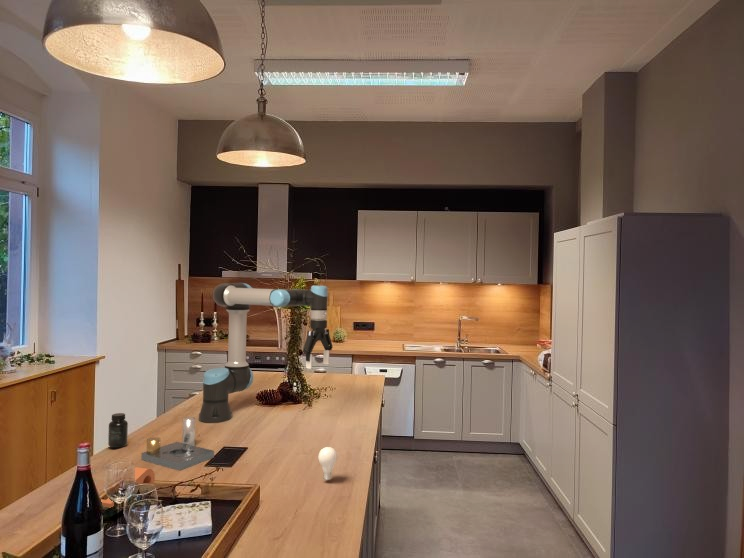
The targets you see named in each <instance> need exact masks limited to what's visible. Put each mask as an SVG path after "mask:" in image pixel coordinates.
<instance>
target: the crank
mask: <svg viewBox="0 0 744 558" xmlns="http://www.w3.org/2000/svg"><path fill="white" fill-rule="evenodd" d="M134 467H135V481H136V483H138V484H143V483H150V484H154V485H155V481H156V477H155V476H156V475H155V471H154V470H153V469H152V468H143V467H136V466H134ZM100 499H101V502H102V505H103V506H104V507H109V508H111V507H113V506H114V502H113V501H111V500H110V499H109V497H107V499H102V498H100Z"/></svg>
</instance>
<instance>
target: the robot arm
mask: <svg viewBox="0 0 744 558" xmlns="http://www.w3.org/2000/svg"><path fill="white" fill-rule="evenodd" d="M328 293H329V292H328V286H326V285H311V287H310V289H303V288H302V289H301V288H294V289H285V288H284V289H279V288H278V289H275V288H254V287H252V286H251V285H249V284H248V283H244V282H224V283H219V284H218V285H216V286H215V288H213V291H212V299H213V301H214V302H215V304H216V305H217V306H220V307H224V308H225V310H226V312H227V313H228V341H227V342H228V343H227V344H228V345H227V346H228V347H227V350H228V351H227V352H228V353H227V362H226V363H225V364H224V367H217V368H216V367H214V368H210V369H208V370H206V371H205V372H204V373H203V379H202V390H203V391H202V405H201V407H200V411H199V414H198V421H200V422H203V423H206V424H207V423H209V424H211V423H214V424H215V423H223V422H227V421H230V420H231V419H232V417H233V415H232V414H233V413H232V410H231V408H230V404H229V395H230V394H233V393H238V392H243V391H245V390H247V389H249V388H250V387H251V385H252V384H253V381H254V372H253V371H252V369H251V368H250V364H249V363H248V362H247V361H246V360H247V355H246V354H247V318H248V317H247V316H248V315H247V314H248V313H249V312H250V310H251V306H271V307H277V308H278V307H279V308H285V307H300V306H302V307H304V306H305V307H310V314H309V315H310V317H309V318H310V321H309V322H310V326H309V328H310V329H312V330H307V334H306V340H305V342H304V346H303V349H302V352H303V354H305V368H306V369H309V370H311V369H313V353H312V352H313V350H314V347H315V346H316V344H317V342H319V341H320V342H321V345H322V347H323V348H324V350H323V358H322V359H323V361H322V363H323V365H330V351H333V344H332V339H331V336H330V329H328V320H327V319H328V299H329V296H328Z"/></svg>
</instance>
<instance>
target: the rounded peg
mask: <svg viewBox="0 0 744 558" xmlns="http://www.w3.org/2000/svg"><path fill="white" fill-rule="evenodd" d="M195 435H196V418H195V417H193V416H187V417H183V418H182V438H181V439H182V442H181V443H184V444H188V445H192V446H195V443H196V441H195V440H196V436H195Z"/></svg>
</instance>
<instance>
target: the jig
mask: <svg viewBox="0 0 744 558" xmlns="http://www.w3.org/2000/svg"><path fill="white" fill-rule="evenodd" d="M214 458H215V450H213V449H208V448H204V447H200V446H192V445H188V444H184V443H182V442H180V441H175V442H172V443H169V444H166V445H163V446H161V438H160V437H158V436H157V437H150V438H147V439H146V451H144V452H141V461H143V462H147V463H151V464H155V465H158V466H161V467H166V468H169V469H173V470H176V471H178V472H179V471H183V470H185V469H188V468H190V467H193V466H196V465H198V464H201V463H204V462H205V461H209V460H211V459H214Z"/></svg>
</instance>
